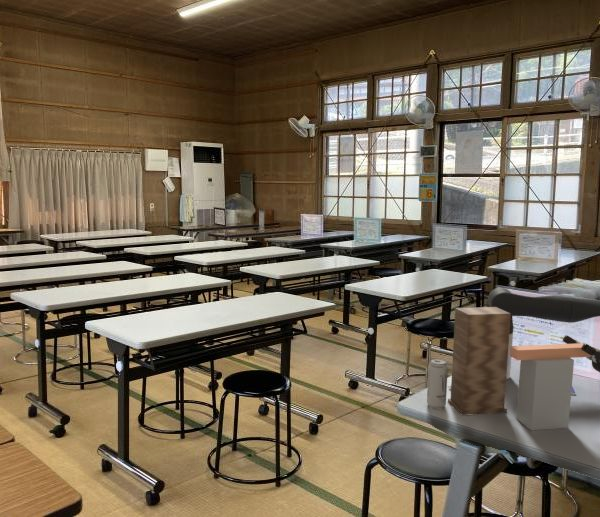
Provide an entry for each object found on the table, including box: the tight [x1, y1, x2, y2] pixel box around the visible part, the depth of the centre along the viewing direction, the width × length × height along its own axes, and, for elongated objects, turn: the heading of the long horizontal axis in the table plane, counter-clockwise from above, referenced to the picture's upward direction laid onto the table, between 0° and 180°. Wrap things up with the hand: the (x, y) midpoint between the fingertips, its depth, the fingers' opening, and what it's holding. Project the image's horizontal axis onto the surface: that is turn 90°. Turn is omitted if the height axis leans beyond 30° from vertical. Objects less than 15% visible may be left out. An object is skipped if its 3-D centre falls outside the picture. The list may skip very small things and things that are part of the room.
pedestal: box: [447, 306, 511, 416], centre depth 177 cm, size 15×10×32 cm
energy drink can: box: [426, 358, 449, 410], centre depth 179 cm, size 6×6×15 cm
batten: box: [510, 342, 591, 361], centre depth 165 cm, size 24×4×3 cm, turn 100°
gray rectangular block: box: [516, 358, 575, 431], centre depth 167 cm, size 12×8×21 cm, turn 100°
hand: (573, 341), depth 166 cm, fingers open, 8 cm apart
